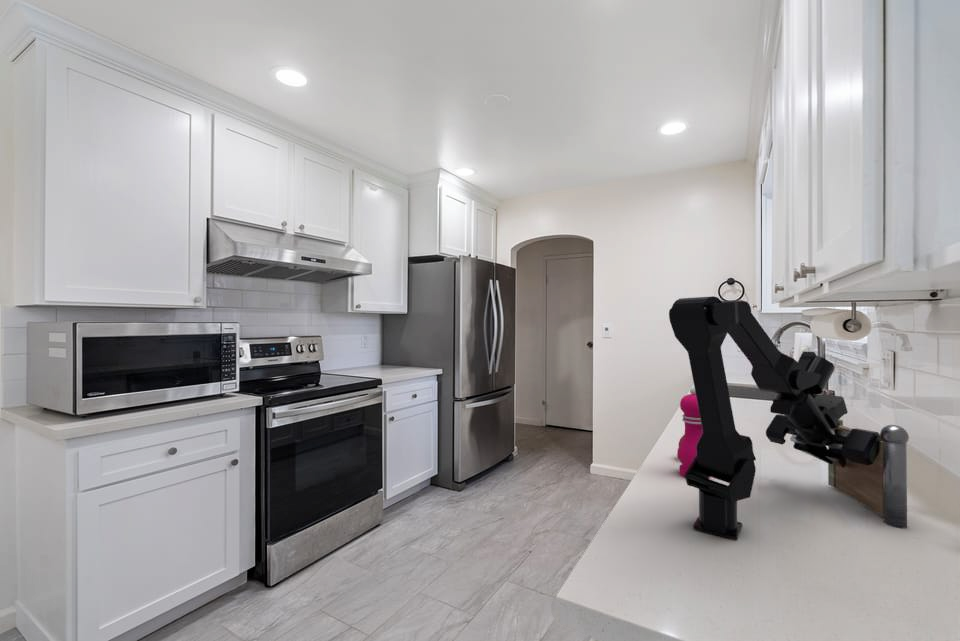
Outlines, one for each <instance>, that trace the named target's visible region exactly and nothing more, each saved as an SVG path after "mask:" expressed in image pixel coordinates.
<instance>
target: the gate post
mask: <svg viewBox="0 0 960 641" xmlns="http://www.w3.org/2000/svg"><path fill="white" fill-rule="evenodd" d="M879 434H880V436H881V438H882V440H883V516H882V517H883V519H882V520H883V521H882V522H883V523H884V524H886V525H887V526H889V527H894V528H899V529H906V528H908V482H907V481H908V477H907V476H908V475H907V474H908V473H907V472H908V471H907V470H908V469H907V468H908V466H907V465H908V464H907V463H908V462H907V461H908V460H907V455H908V454H907V443H908V442H909V439H910V437H909V436H910V435H909V433H908V431H907V430H906V429H905V428H904V427H902V426H899V425H896V424H888V425H885V426H884V427H882V428H881V430H880V433H879Z"/></svg>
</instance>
